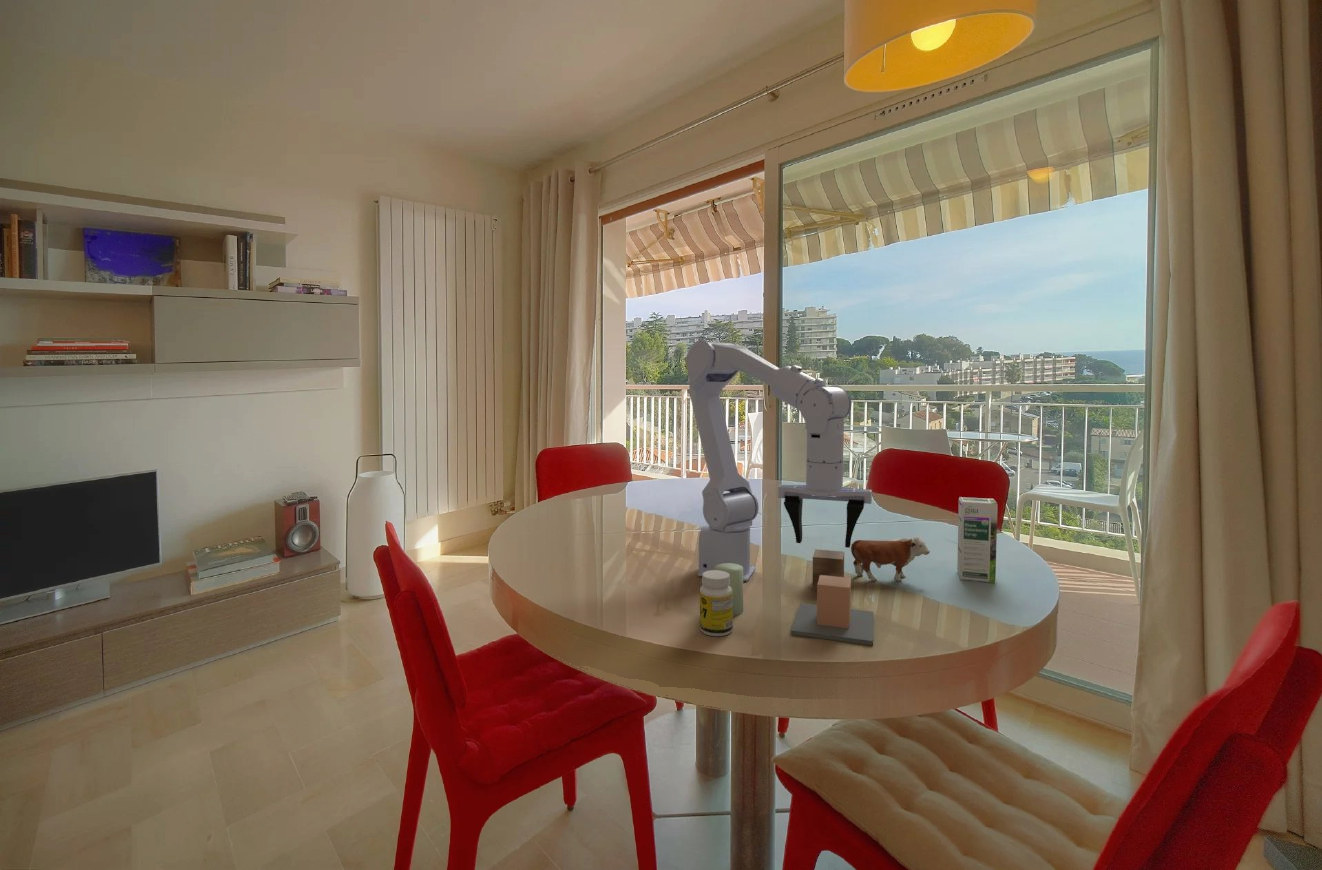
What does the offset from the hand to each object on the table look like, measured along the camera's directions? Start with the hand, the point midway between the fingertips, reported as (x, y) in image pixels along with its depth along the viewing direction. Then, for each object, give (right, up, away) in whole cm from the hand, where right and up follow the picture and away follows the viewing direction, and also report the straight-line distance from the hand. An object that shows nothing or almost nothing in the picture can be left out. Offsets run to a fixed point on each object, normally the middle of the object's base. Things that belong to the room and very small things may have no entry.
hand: (823, 543), depth 95 cm
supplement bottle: (-18, -11, -10) cm, 24 cm away
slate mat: (-1, -10, -9) cm, 14 cm away
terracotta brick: (-1, -10, -9) cm, 13 cm away
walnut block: (+3, -9, +7) cm, 12 cm away
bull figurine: (+15, -9, +12) cm, 21 cm away
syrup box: (+31, -9, +12) cm, 35 cm away
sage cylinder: (-16, -10, -3) cm, 19 cm away
